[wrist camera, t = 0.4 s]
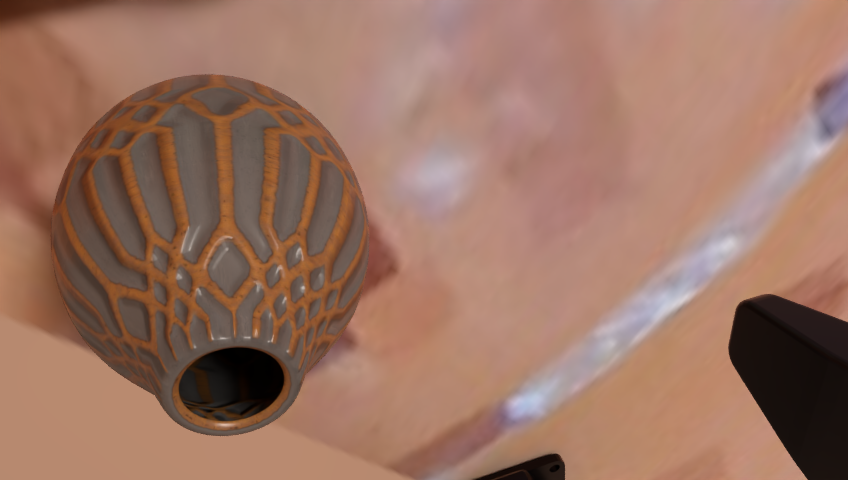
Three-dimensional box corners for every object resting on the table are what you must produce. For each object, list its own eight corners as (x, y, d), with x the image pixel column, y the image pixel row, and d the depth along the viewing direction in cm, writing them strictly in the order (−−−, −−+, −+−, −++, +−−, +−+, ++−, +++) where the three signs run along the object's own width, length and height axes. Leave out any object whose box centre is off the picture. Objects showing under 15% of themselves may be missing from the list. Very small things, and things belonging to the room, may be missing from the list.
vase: (9, 141, 17) (-109, 395, 10) (236, -17, 16) (277, 135, 10) (195, 304, 21) (203, 562, 14) (381, 182, 21) (482, 387, 14)
